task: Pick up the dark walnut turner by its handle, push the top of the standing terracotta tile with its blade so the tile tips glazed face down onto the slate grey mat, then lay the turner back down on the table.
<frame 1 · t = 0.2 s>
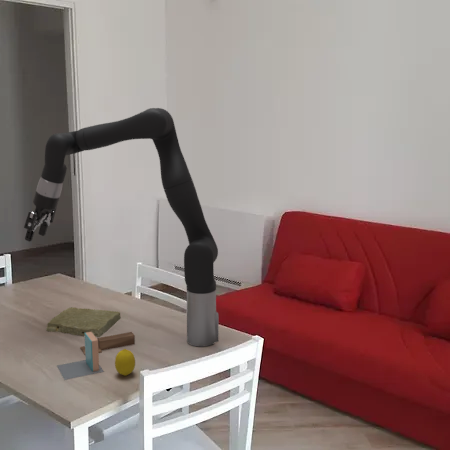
hand: (35, 237, 190), 31 cm above the table, tool tilted 20°, fingers open, 8 cm apart
walnut turner: (121, 346, 181), on the table
decorative tile: (83, 326, 198), on the table
slate mat: (80, 369, 164), on the table
lemon: (125, 376, 161), on the table
terracotta tile: (92, 366, 166), resting on slate mat
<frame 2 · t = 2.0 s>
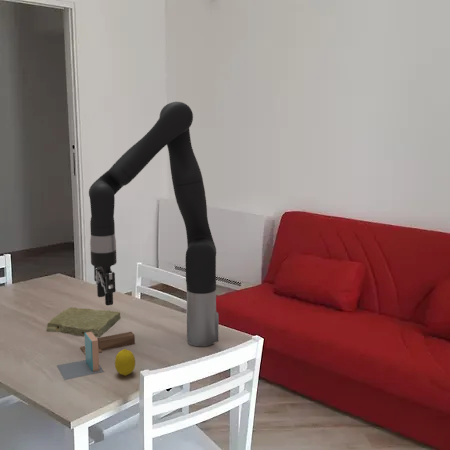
hand: (105, 300, 176), 16 cm above the table, tool pointing down, fingers open, 8 cm apart
nothing on the table moved.
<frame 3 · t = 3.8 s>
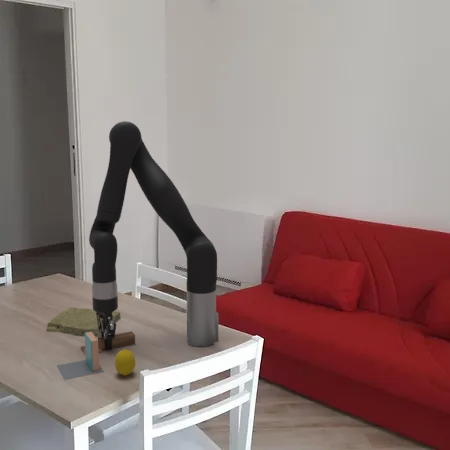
hand: (106, 347, 179), 0 cm above the table, tool pointing down, fingers closed on walnut turner, 3 cm apart
walnut turner: (121, 345, 181), on the table, touching gripper
everything else where it was.
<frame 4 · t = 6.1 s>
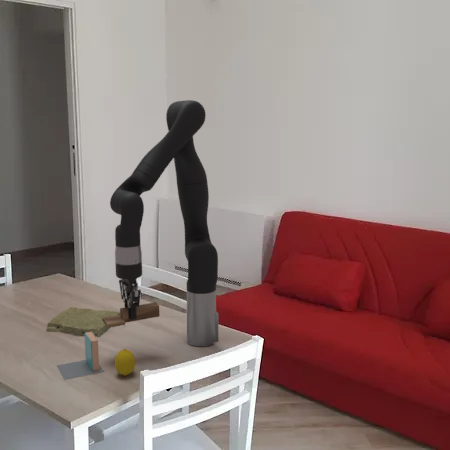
hand: (130, 317, 169), 13 cm above the table, tool pointing down, fingers closed on walnut turner, 3 cm apart
walnut turner: (145, 317, 171), point 12 cm above the table, touching gripper
everything else where it was.
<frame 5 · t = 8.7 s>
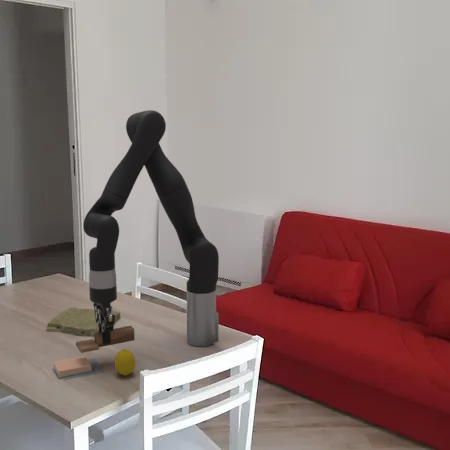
hand: (104, 341, 166), 7 cm above the table, tool pointing down, fingers closed on walnut turner, 3 cm apart
walnut turner: (119, 341, 169), point 6 cm above the table, touching gripper
terracotta tile: (88, 363, 165), point 1 cm above the table, tilted 90°, touching slate mat
everything else where it was.
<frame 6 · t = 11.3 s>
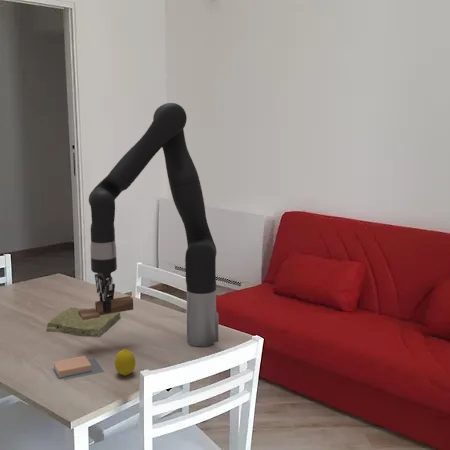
hand: (105, 309, 177), 13 cm above the table, tool pointing down, fingers closed on walnut turner, 3 cm apart
walnut turner: (119, 310, 179), point 12 cm above the table, touching gripper
everything else where it was.
when the fingers open (2 cm above the table, at t = 13.8 s): walnut turner stays where it is, on the table.
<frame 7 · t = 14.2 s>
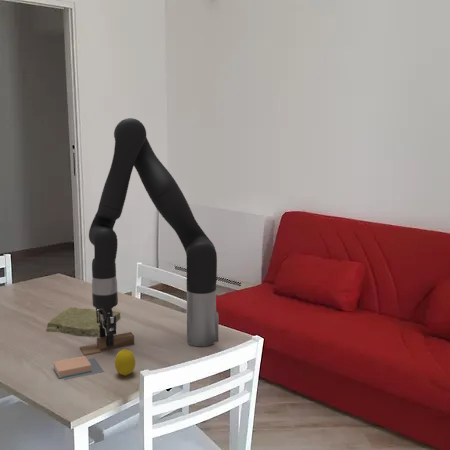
hand: (106, 342, 179), 2 cm above the table, tool pointing down, fingers open, 6 cm apart
walnut turner: (120, 346, 181), on the table
everything else where it was.
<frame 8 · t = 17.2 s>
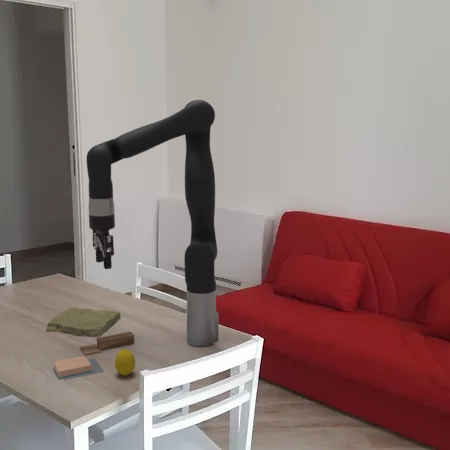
hand: (103, 265, 176), 26 cm above the table, tool pointing down, fingers open, 8 cm apart
nothing on the table moved.
at the end: terracotta tile tilted 90°; terracotta tile 2.0 cm from the target spot, point 1.4 cm above the table; walnut turner inside the target area (3.8 cm from its centre), on the table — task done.
